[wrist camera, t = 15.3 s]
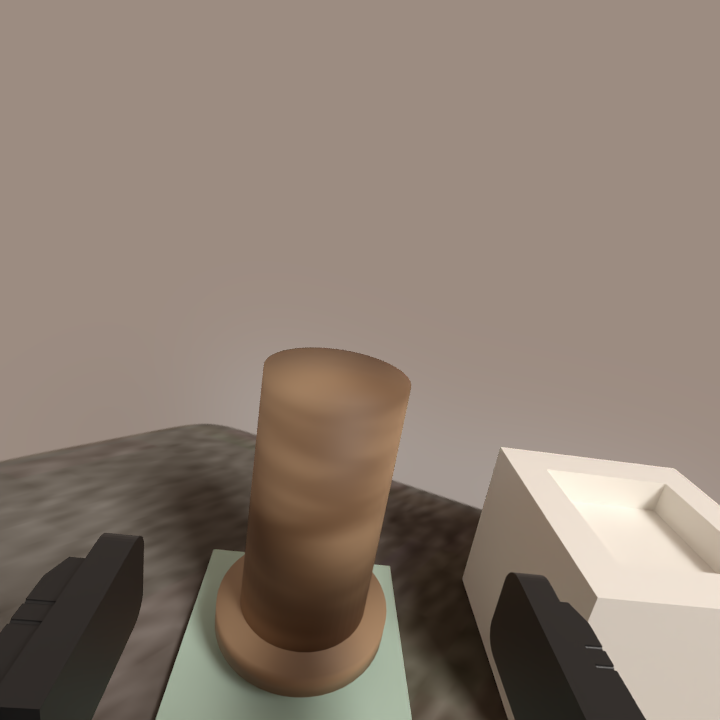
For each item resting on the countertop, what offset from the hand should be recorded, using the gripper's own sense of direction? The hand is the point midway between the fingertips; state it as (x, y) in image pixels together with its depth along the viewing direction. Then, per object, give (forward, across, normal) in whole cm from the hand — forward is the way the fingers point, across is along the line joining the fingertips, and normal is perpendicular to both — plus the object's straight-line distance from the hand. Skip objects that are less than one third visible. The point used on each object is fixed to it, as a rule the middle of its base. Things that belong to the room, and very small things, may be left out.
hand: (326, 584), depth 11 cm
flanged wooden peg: (+7, 0, +10) cm, 12 cm away
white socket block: (+7, -13, +10) cm, 18 cm away
